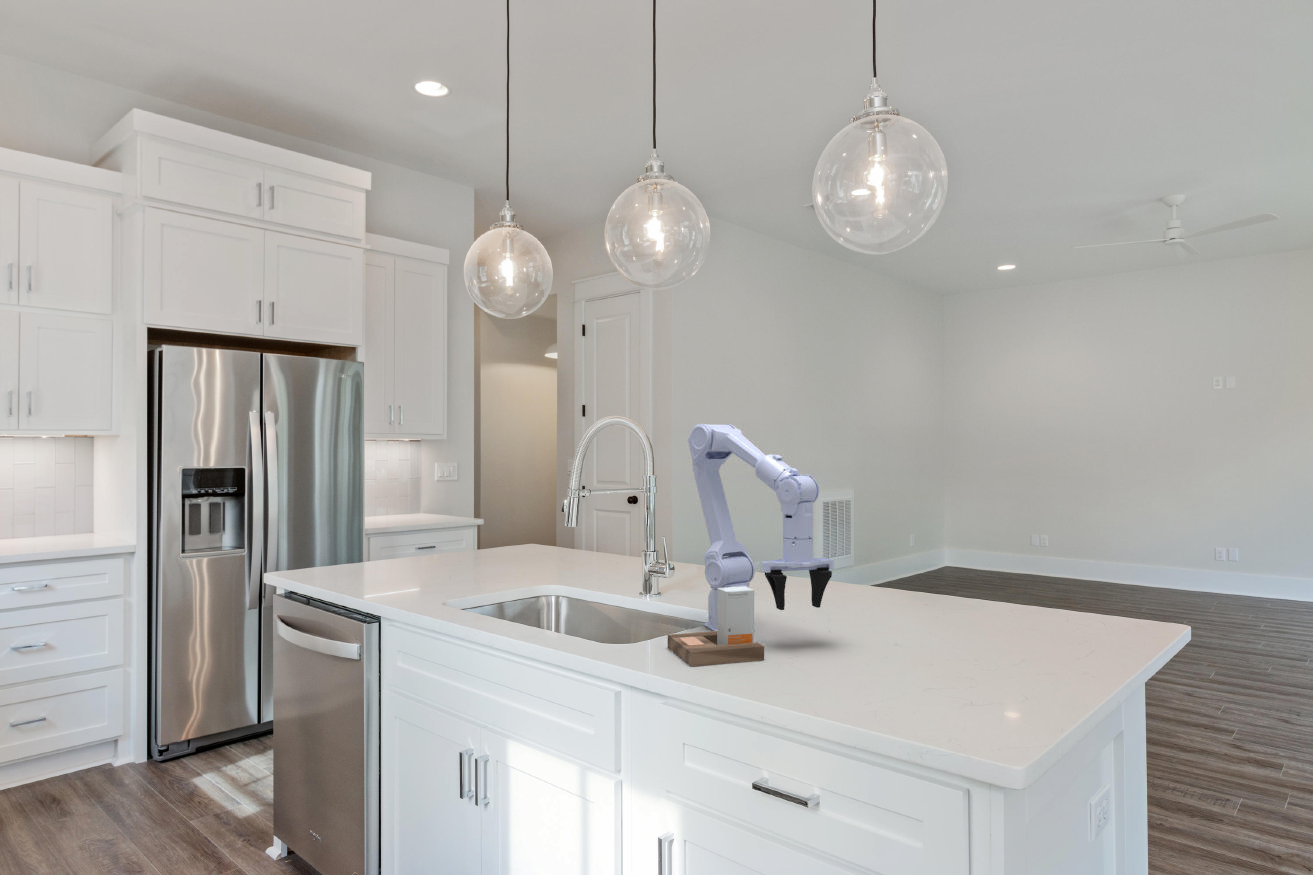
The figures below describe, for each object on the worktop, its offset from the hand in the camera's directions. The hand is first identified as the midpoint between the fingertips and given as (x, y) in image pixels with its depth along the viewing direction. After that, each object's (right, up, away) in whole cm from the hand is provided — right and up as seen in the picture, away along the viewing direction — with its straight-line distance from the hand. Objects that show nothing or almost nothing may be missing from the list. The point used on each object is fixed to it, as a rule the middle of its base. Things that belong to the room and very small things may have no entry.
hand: (798, 607), depth 151 cm
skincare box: (-13, -8, -4) cm, 15 cm away
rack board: (-17, -8, -5) cm, 19 cm away
